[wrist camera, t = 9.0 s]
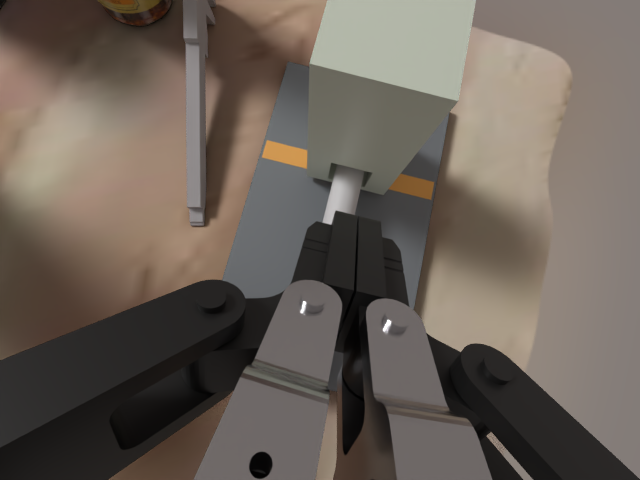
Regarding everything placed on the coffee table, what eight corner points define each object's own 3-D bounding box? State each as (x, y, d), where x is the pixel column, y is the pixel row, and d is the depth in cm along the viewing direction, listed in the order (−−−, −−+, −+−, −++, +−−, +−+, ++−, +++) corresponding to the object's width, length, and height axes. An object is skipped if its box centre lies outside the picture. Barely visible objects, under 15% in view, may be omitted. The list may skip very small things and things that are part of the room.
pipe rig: (203, 354, 22) (178, 369, 18) (288, 70, 26) (285, 26, 22) (392, 401, 22) (413, 427, 18) (445, 109, 27) (473, 73, 22)
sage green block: (306, 175, 23) (309, 63, 12) (322, 117, 24) (338, -38, 13) (383, 195, 23) (458, 101, 12) (396, 136, 24) (476, -3, 13)
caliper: (204, 4, 28) (176, -79, 21) (217, 4, 28) (192, -79, 21) (192, 227, 24) (153, 203, 18) (206, 226, 24) (173, 203, 18)
